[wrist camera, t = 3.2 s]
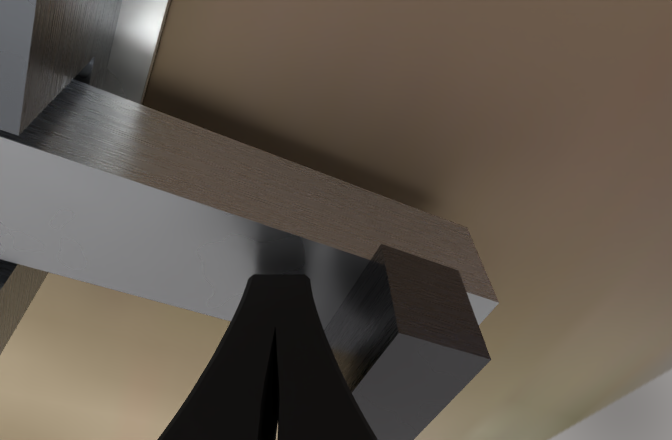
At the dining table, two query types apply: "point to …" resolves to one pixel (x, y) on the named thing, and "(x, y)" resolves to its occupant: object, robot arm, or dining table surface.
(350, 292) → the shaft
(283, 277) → the robot arm
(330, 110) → the dining table surface
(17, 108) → the bearing block
